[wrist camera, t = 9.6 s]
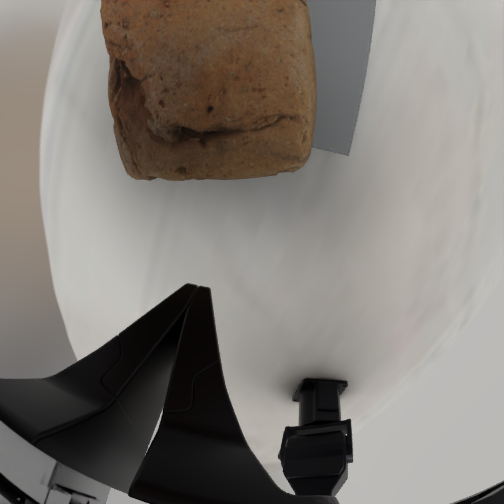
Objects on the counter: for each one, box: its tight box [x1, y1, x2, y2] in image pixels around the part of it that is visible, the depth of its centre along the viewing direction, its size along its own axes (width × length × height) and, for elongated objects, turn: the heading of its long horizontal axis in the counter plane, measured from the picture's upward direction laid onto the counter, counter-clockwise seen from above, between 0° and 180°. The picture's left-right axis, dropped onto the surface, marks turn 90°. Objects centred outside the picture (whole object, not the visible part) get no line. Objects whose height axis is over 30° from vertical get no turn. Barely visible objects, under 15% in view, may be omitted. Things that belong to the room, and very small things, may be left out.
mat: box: [306, 0, 376, 156], centre depth 13 cm, size 16×14×1 cm
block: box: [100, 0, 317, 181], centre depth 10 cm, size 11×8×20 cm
